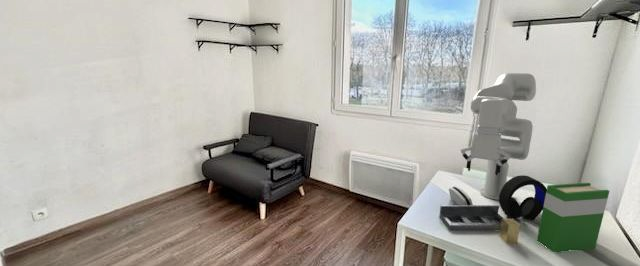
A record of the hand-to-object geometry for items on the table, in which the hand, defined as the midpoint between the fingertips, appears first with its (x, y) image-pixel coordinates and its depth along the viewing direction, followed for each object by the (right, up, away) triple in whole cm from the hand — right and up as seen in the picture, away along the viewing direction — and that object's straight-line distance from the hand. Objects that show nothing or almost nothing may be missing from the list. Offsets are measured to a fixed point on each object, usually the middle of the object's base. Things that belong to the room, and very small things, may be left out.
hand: (482, 172), depth 114 cm
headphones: (+26, -24, +15) cm, 38 cm away
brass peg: (+10, -27, 0) cm, 29 cm away
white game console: (+5, -21, +27) cm, 35 cm away
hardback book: (+30, -28, -4) cm, 42 cm away
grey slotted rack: (+3, -25, +11) cm, 27 cm away
